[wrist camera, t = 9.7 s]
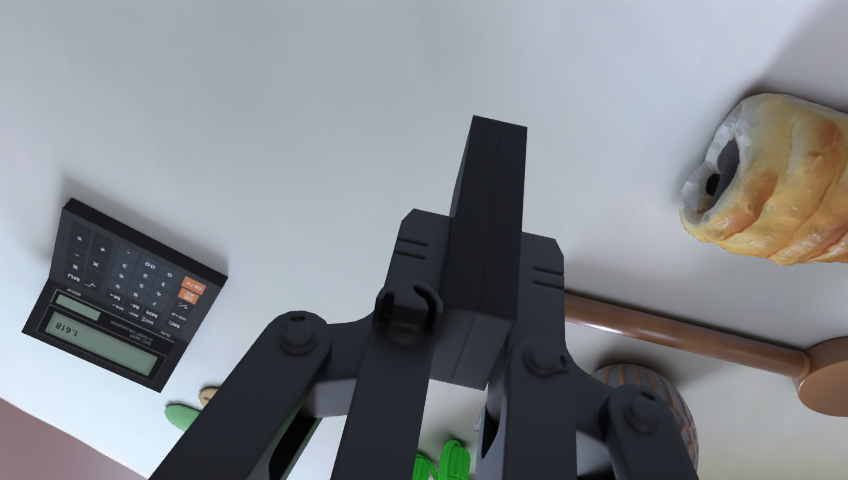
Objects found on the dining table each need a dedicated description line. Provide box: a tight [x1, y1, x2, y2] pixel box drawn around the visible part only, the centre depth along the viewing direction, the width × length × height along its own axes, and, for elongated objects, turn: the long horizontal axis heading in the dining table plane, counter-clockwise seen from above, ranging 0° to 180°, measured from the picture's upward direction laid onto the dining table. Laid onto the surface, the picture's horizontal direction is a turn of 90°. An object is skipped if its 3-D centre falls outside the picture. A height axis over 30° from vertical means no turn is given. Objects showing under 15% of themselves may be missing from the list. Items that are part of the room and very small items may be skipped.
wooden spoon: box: [564, 293, 848, 417], centre depth 30 cm, size 19×5×1 cm, turn 80°
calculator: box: [22, 199, 228, 393], centre depth 36 cm, size 9×12×3 cm
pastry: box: [678, 93, 848, 265], centre depth 22 cm, size 9×7×4 cm
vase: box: [590, 364, 699, 472], centre depth 32 cm, size 7×7×9 cm
